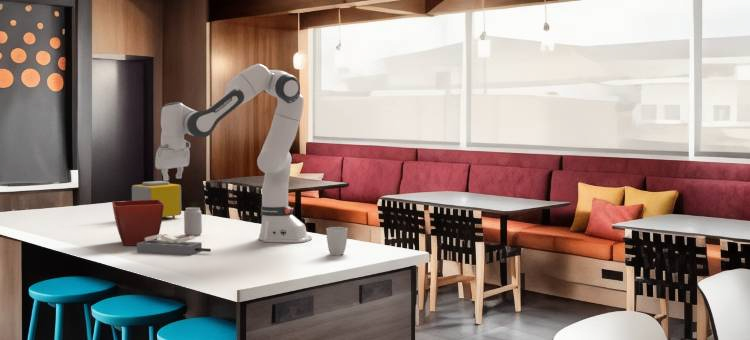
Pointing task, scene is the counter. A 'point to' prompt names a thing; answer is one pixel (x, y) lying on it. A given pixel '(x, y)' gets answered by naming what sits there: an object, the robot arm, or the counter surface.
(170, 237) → the rocker
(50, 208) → the counter surface
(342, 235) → the cup
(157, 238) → the rocker
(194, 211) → the can
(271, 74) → the robot arm
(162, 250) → the rocker switch panel
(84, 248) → the counter surface
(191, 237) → the block
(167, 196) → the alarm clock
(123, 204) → the plant pot
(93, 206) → the counter surface
